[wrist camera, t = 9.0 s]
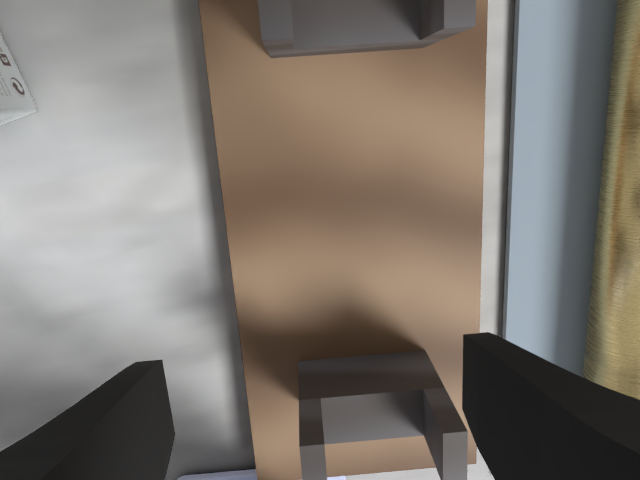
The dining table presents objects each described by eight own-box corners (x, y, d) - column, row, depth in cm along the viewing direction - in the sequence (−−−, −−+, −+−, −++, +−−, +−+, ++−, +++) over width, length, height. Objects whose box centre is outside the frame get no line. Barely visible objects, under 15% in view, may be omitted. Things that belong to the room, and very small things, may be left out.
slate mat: (674, 460, 25) (680, 466, 24) (496, 477, 24) (500, 483, 24) (782, -223, 17) (793, -230, 16) (523, -209, 17) (528, -217, 16)
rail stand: (467, 445, 24) (529, 569, 17) (259, 464, 23) (246, 597, 17) (478, -137, 17) (583, -274, 11) (189, -121, 17) (126, -252, 11)
